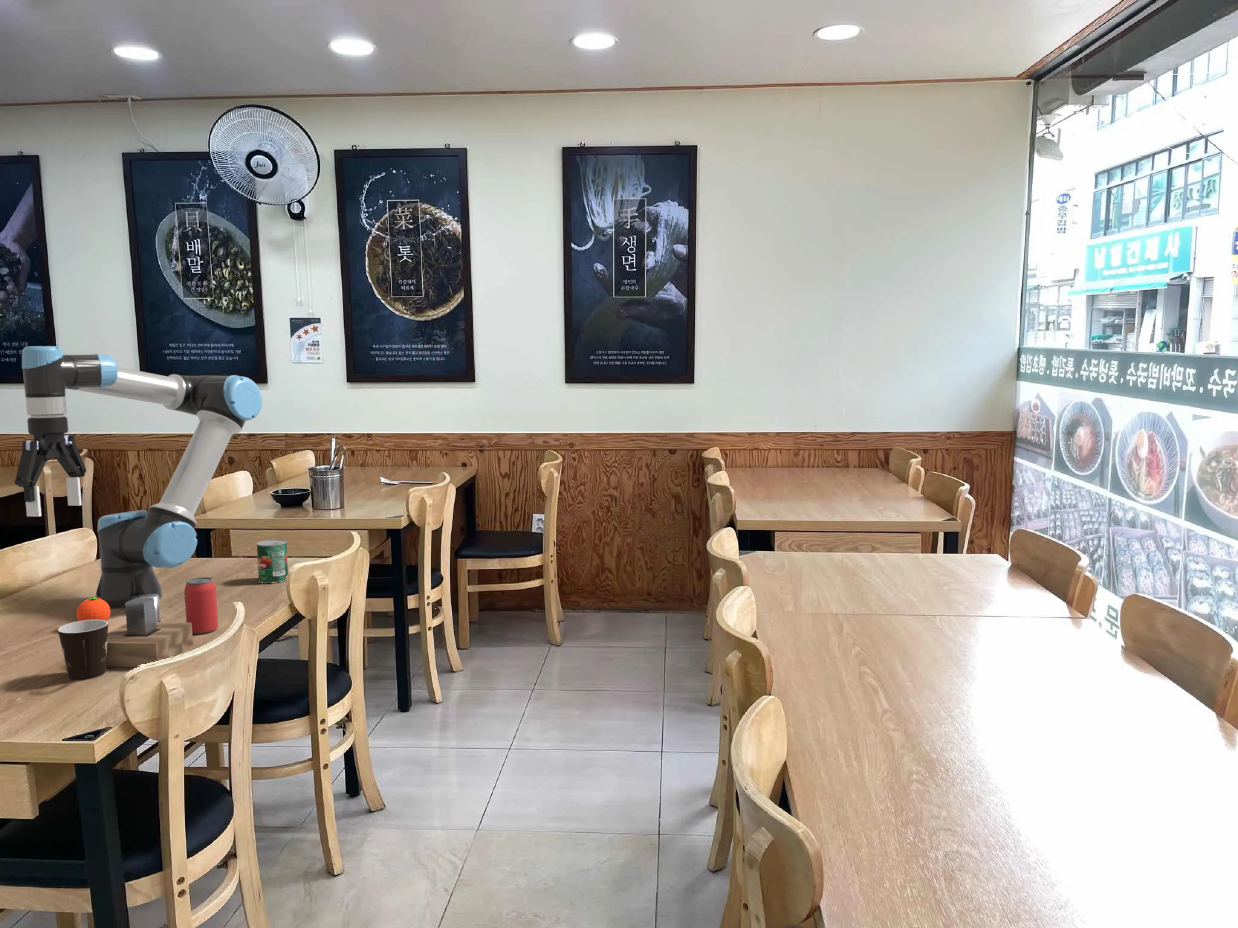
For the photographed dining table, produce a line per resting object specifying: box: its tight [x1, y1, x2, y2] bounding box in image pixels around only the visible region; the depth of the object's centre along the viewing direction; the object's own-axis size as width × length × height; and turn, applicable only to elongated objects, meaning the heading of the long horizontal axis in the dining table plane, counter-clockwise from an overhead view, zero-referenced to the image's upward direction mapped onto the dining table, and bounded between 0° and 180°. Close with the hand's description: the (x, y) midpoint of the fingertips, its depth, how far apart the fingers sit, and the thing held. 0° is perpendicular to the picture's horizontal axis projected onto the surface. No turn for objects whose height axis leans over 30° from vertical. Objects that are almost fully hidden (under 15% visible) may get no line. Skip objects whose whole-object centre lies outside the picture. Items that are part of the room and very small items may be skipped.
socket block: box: [106, 621, 194, 668], centre depth 190 cm, size 14×14×5 cm
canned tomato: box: [256, 538, 289, 583], centre depth 251 cm, size 8×8×11 cm
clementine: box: [75, 597, 111, 622], centre depth 209 cm, size 8×7×7 cm
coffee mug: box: [57, 620, 109, 681], centre depth 177 cm, size 12×9×10 cm
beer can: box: [183, 576, 219, 635], centre depth 206 cm, size 7×7×12 cm
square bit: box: [124, 598, 157, 637], centre depth 189 cm, size 4×4×12 cm
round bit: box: [139, 594, 162, 622], centre depth 199 cm, size 4×4×10 cm
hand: (55, 510), depth 200 cm, fingers open, 13 cm apart
